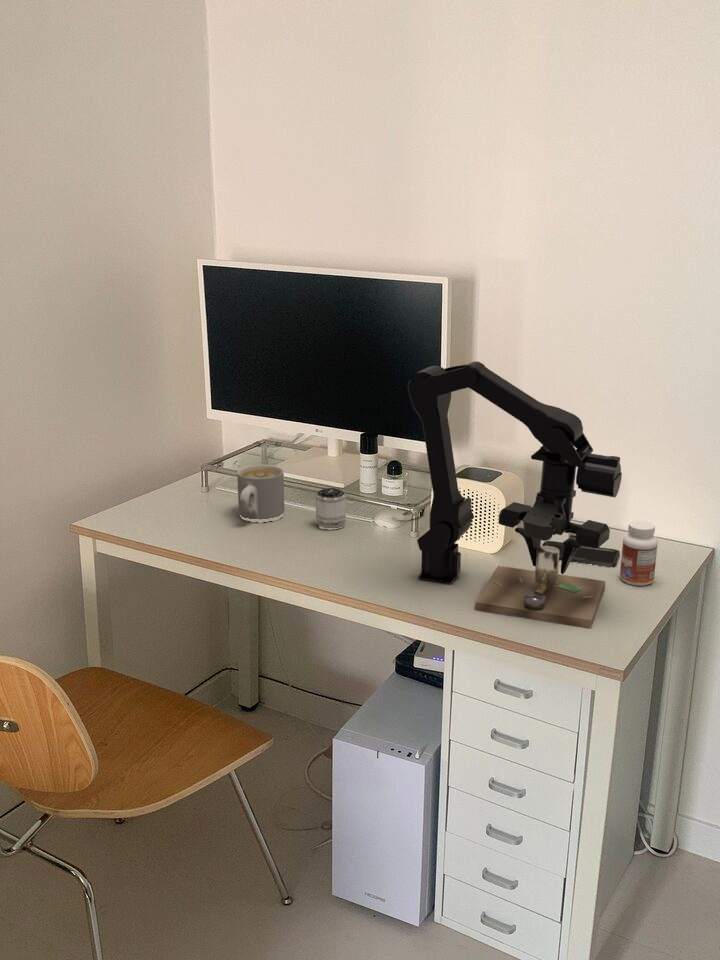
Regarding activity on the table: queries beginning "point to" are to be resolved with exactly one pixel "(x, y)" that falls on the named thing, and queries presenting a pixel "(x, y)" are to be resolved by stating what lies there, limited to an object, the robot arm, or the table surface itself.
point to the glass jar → (330, 508)
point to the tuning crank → (543, 575)
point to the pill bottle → (639, 553)
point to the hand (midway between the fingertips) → (548, 569)
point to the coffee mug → (260, 491)
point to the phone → (589, 554)
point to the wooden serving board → (563, 600)
